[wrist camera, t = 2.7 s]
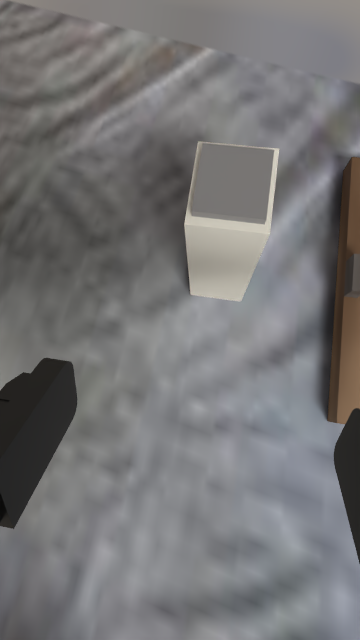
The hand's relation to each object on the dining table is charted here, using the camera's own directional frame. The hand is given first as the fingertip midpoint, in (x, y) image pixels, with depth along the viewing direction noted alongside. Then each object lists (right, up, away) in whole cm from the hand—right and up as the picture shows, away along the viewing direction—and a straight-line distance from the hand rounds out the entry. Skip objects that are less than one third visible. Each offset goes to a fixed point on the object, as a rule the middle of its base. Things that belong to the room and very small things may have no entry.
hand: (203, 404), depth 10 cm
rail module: (+2, +6, +14) cm, 16 cm away
